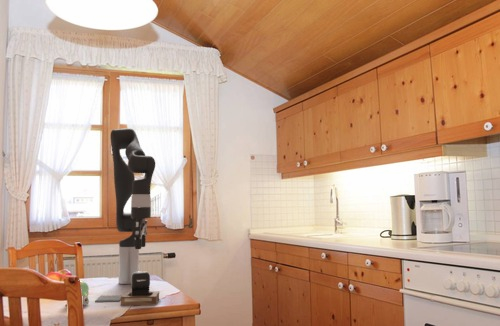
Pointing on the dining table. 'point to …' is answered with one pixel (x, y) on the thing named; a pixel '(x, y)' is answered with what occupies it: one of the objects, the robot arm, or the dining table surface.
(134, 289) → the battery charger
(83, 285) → the frog
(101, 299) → the mat
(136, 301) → the frame
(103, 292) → the dining table surface
